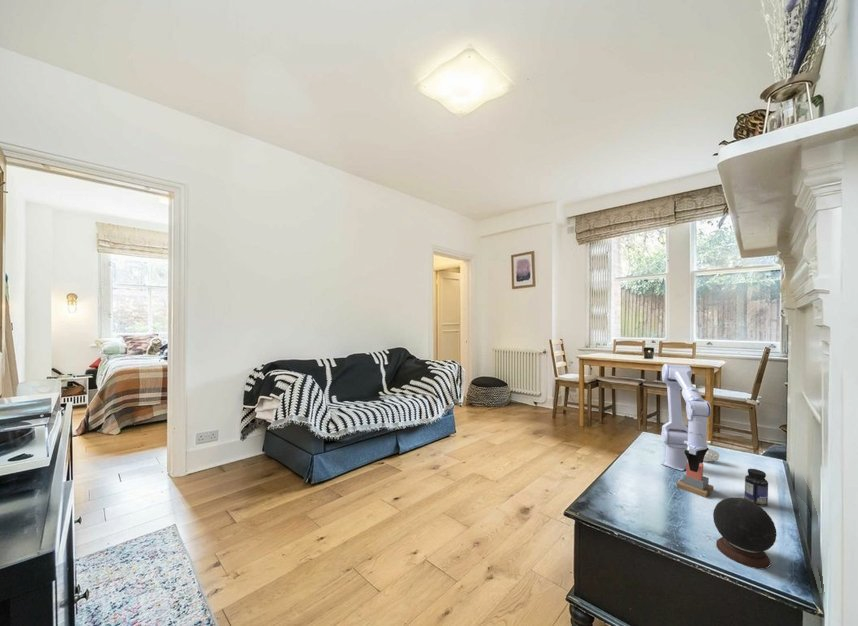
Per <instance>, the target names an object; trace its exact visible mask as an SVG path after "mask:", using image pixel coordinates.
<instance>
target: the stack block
mask: <svg viewBox="0 0 858 626" xmlns="http://www.w3.org/2000/svg"><path fill="white" fill-rule="evenodd" d="M685 471H686V472H685V473H686V474H685V475H686V476H687V477H691V478H694V479H697V480H701V479H702V477H703V476H704V462H703V463H700V464H699V468H698V471H697V472H694V471H690V468H689V463H688V461H687V467H686V469H685Z"/></svg>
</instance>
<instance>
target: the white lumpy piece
mask: <svg viewBox="0 0 858 626" xmlns="http://www.w3.org/2000/svg"><path fill="white" fill-rule="evenodd" d="M710 444H711V441H710V440H707V442H706V445H707V448H709V446H708V445H710ZM687 450H688V451H689V447H688V448H687ZM719 458H720V453H719V452H718V451H716V450H715V449H711V448H709V450H708V451H707V452H706V454H705V456H704V460H703V462H705V463H706V462H717V461H718V460H719Z"/></svg>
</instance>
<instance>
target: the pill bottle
mask: <svg viewBox="0 0 858 626" xmlns="http://www.w3.org/2000/svg"><path fill="white" fill-rule="evenodd" d="M747 473H748V474H747V475H745V477H744V499H746V500H749V501H751V502H753V503H755V504H757V505H758V506H760V507H766V506H768V504H769V500H768V499H769V482H768V481H767V479H766V478H767V476H766V475H767V474H766V472H765V471H763V470H759V469H756V468H748V469H747Z"/></svg>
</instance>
